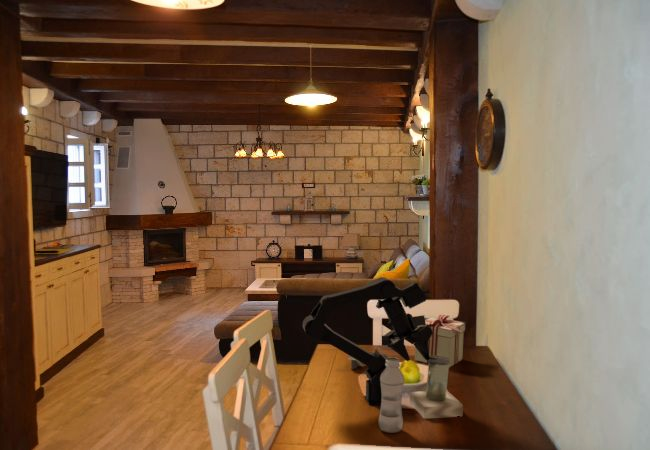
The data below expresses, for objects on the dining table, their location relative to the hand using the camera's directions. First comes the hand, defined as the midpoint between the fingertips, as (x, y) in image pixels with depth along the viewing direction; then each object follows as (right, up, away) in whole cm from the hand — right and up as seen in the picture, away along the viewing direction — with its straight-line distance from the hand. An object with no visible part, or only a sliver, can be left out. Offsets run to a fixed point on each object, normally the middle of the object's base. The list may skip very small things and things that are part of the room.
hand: (418, 360), depth 168 cm
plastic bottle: (-11, -14, -20) cm, 27 cm away
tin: (+4, -10, -5) cm, 12 cm away
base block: (+4, -14, -5) cm, 15 cm away
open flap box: (-17, -12, +33) cm, 39 cm away
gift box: (+17, -11, +44) cm, 49 cm away
